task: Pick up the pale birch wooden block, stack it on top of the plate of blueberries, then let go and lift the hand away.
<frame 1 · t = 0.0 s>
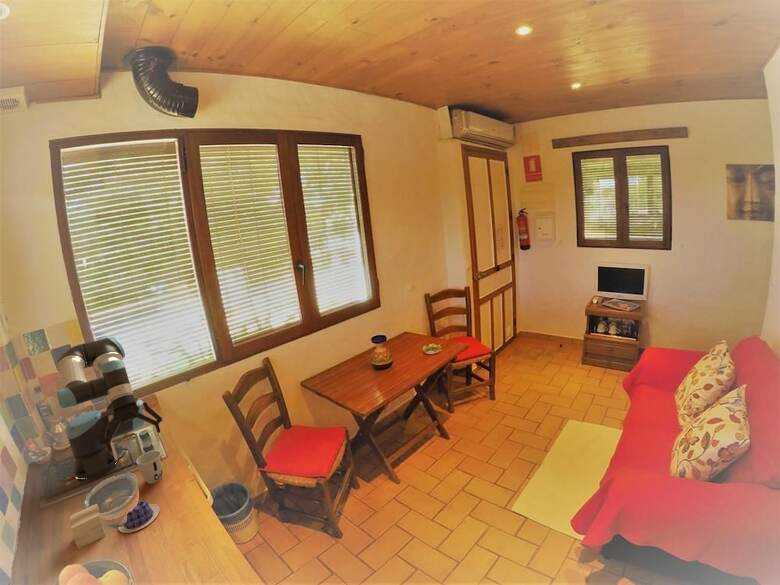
hand: (138, 450, 140), 15 cm above the worktop, tool tilted 35°, fingers open, 13 cm apart
plate of blueberries: (139, 519, 128), on the worktop
block: (91, 535, 123), on the worktop
cup: (154, 479, 147), on the worktop
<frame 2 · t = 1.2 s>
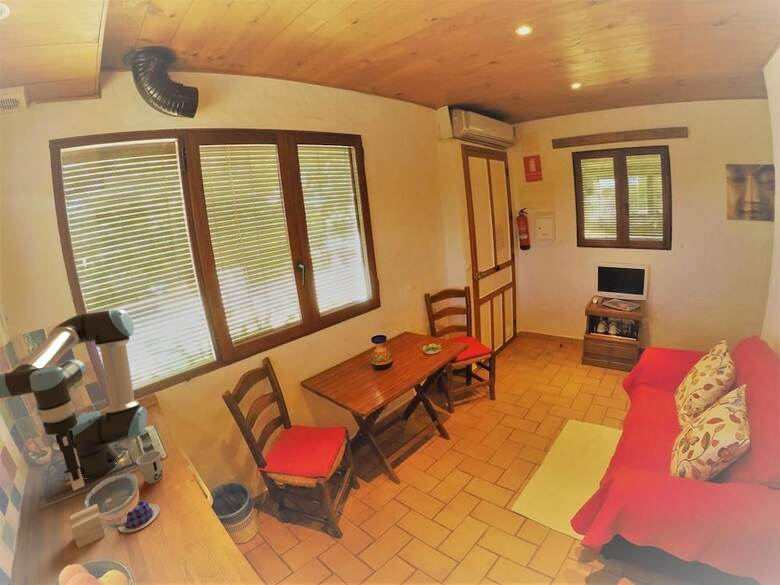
hand: (77, 477, 118), 21 cm above the worktop, tool pointing down, fingers open, 13 cm apart
nothing on the worktop moved.
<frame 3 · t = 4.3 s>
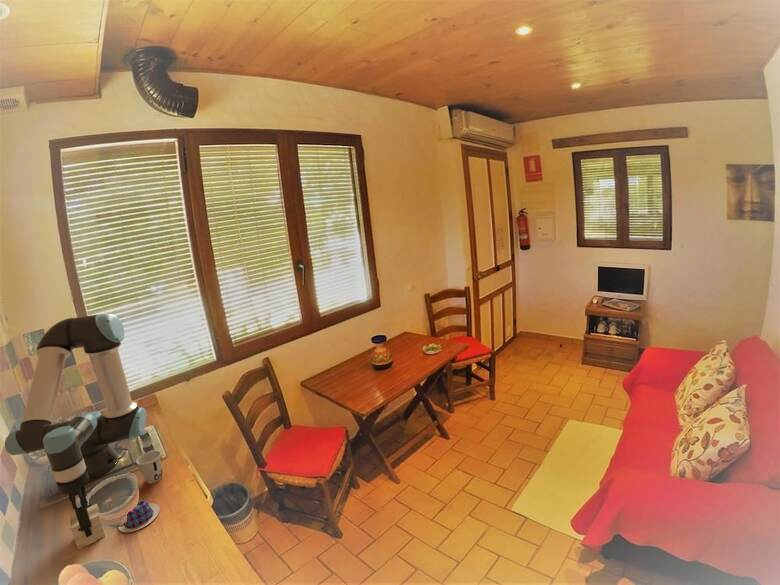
hand: (90, 535, 122), 0 cm above the worktop, tool pointing down, fingers closed on block, 7 cm apart
block: (91, 535, 122), on the worktop, touching gripper
everything else where it was.
when the fingers open (7 cm above the worktop, at t = 10.5 s): block drops 1 cm, point 5 cm above the worktop.
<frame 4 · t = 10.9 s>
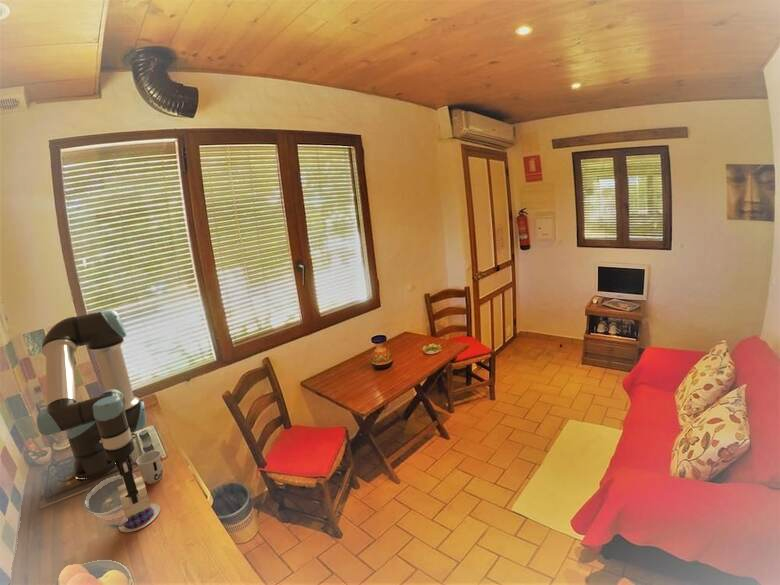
hand: (134, 499, 126), 8 cm above the worktop, tool pointing down, fingers open, 12 cm apart
block: (136, 506, 127), point 5 cm above the worktop
everything else where it was.
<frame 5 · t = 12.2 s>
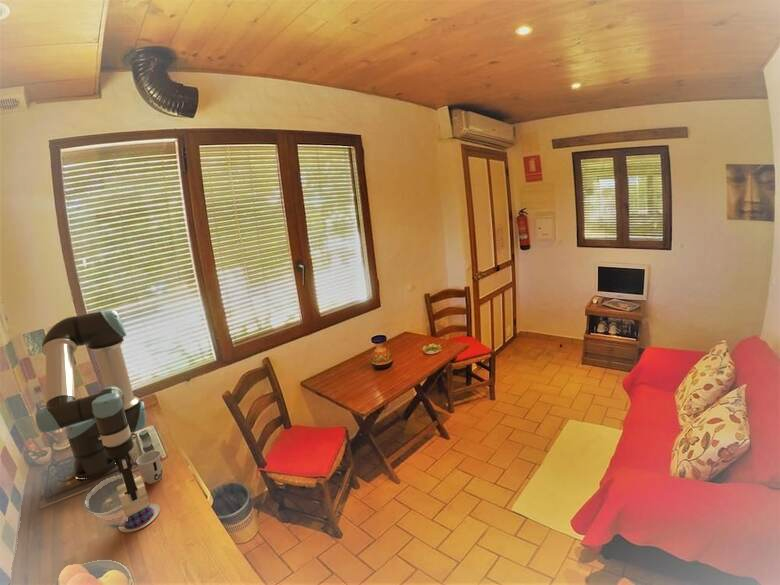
hand: (133, 495, 126), 9 cm above the worktop, tool pointing down, fingers open, 13 cm apart
plate of blueberries: (140, 519, 128), on the worktop, touching block
block: (136, 506, 127), point 5 cm above the worktop, touching plate of blueberries
everything else where it was.
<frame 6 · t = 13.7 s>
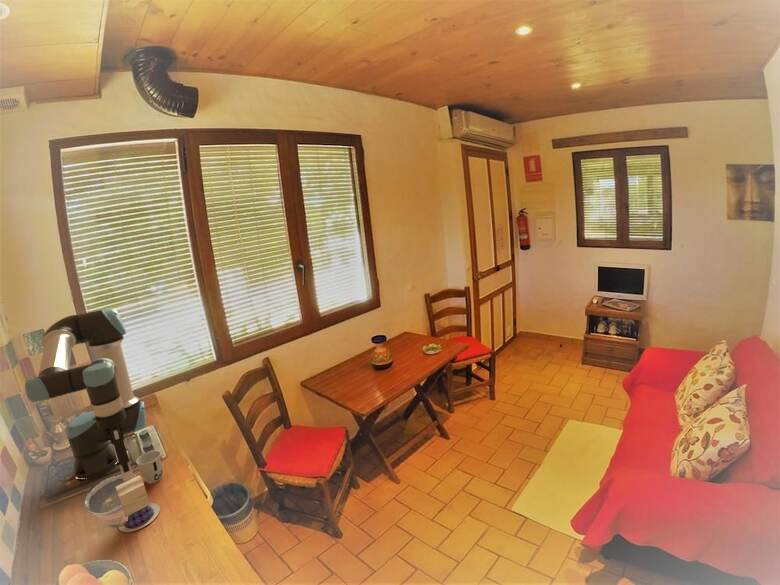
hand: (125, 468, 123), 20 cm above the worktop, tool pointing down, fingers open, 13 cm apart
nothing on the worktop moved.
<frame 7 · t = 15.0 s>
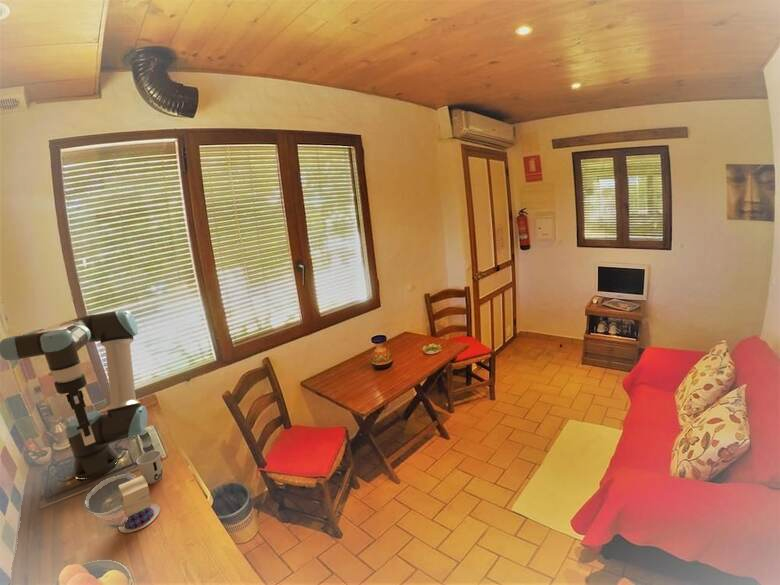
hand: (87, 434, 125), 31 cm above the worktop, tool pointing down, fingers open, 13 cm apart
plate of blueberries: (140, 519, 128), on the worktop
block: (136, 505, 127), point 5 cm above the worktop
everything else where it was.
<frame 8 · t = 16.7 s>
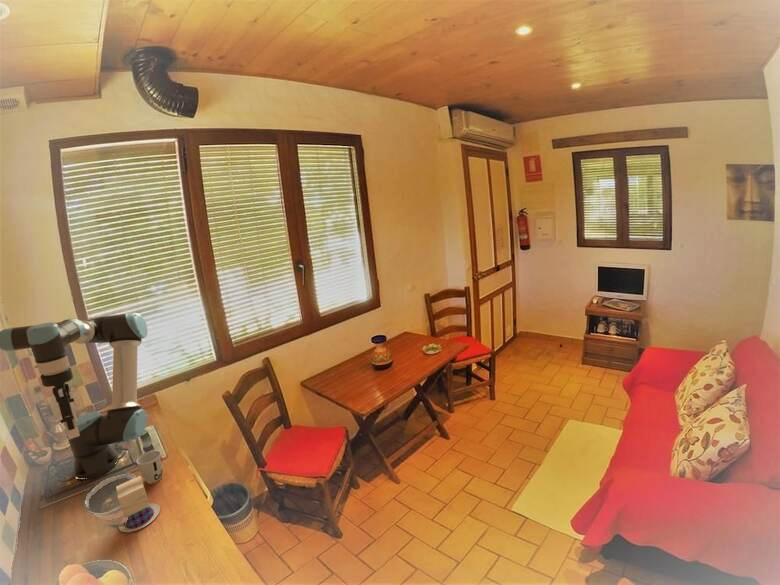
hand: (73, 429, 125), 33 cm above the worktop, tool pointing down, fingers open, 13 cm apart
plate of blueberries: (140, 519, 128), on the worktop, touching block
block: (135, 505, 127), point 5 cm above the worktop, touching plate of blueberries
everything else where it was.
at the end: block 0.3 cm from the plate of blueberries (horizontally); block point 5.0 cm above the worktop; block tilted 2° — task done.
